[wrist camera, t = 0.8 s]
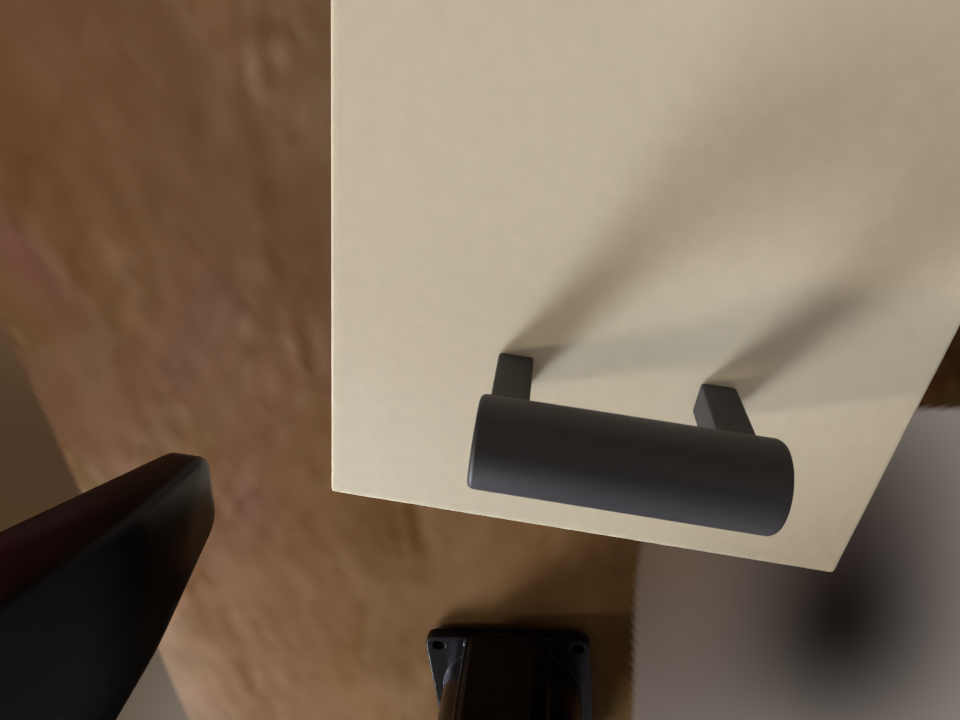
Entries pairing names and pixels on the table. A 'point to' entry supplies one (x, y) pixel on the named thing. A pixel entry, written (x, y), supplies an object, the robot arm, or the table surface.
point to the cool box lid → (641, 259)
